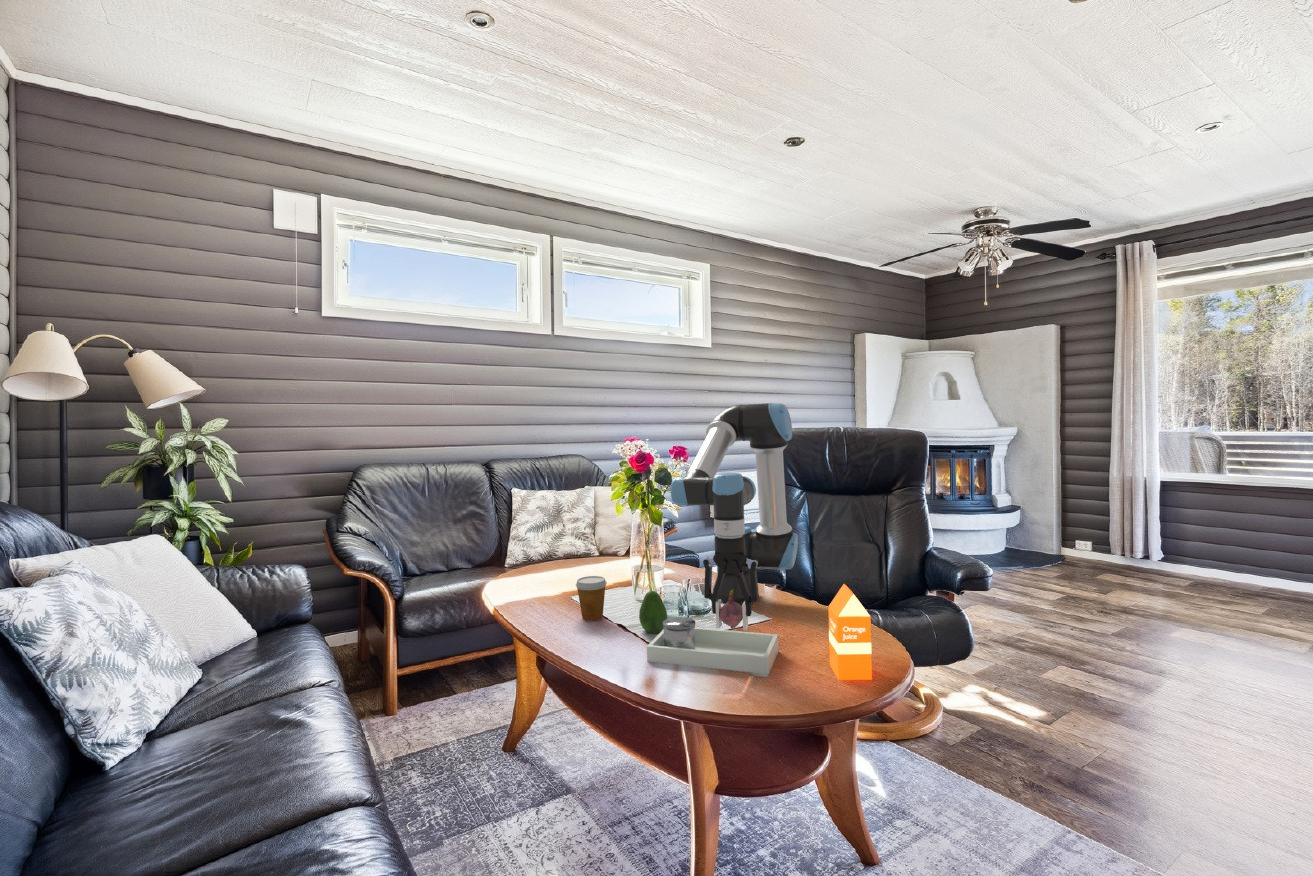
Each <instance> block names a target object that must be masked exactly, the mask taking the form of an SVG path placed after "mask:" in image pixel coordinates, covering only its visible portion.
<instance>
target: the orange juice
mask: <svg viewBox="0 0 1313 876" xmlns="http://www.w3.org/2000/svg"><path fill="white" fill-rule="evenodd" d="M871 618H872V617H871V615H870V614H869V613H868V611H867V609H865V607H864V606H863V605H862V603H861V602H860V600H859V599H858V597H856V595H855V594H854V593H853V591H852V590H851V589H850V588H849V587H848V586H847V585H846V584H845V583H843V585H842V586H841V587H840V588H839V590H838V592H837V593H836V594H835V596H834V598H833V599H832V601H831V602H830V604H829V605H828V641H829V645H828V647H829V666H830V667H831V669H832V671H833V672H834V675H835V677H836V678H837V680H838V681H862V680H863V681H868V680H869V681H872V680H873V676H872V675H873V671H872V669H873V667H872V664H873V663H872V630H871V629H872V623H871V622H872V621H871Z"/></svg>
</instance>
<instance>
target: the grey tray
mask: <svg viewBox="0 0 1313 876" xmlns="http://www.w3.org/2000/svg"><path fill="white" fill-rule="evenodd" d="M779 651H780V650H779V634H773V633H762V632H752V631H741V630H740V631H739V630H729V629H719V628H716V629H715V628H705V627H695V649H685V648H675V647H664V629H663V630H662V631H661V632H660V633H657V635H656V636H655V637H654V639H652V640H651V641H650V643H649V644H648V645H647V646H646V657H647V658H646V659H647V660H646V661H647V662H652V663H661V664H669V665H670V664H671V665H679V666H688V667H697V668H698V667H699V668H707V669H714V670H715V669H716V670H723V671H724V670H725V671H735V672H743V673H744V672H745V673H749V676H751V677H759V678H760V677H762V678H769V676H770V674H771V671H772V669H773V667H774V664H775V661H776V659H777V657H778V654H779Z"/></svg>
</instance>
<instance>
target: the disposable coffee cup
mask: <svg viewBox="0 0 1313 876" xmlns="http://www.w3.org/2000/svg"><path fill="white" fill-rule="evenodd" d="M606 586H607V581H606V578H605V577H603V576H600V575H587V576H582V577H579V578H577V579H576V583H575V587H576V588H577V595H578V600H579V607H580V612H581V618H582V621H585V622H586V621H587V622H596V621H600V620H602V619H603V617H604V607H605V605H604V604H605V595H606V594H605V593H606Z"/></svg>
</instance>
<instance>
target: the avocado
mask: <svg viewBox="0 0 1313 876" xmlns="http://www.w3.org/2000/svg"><path fill="white" fill-rule="evenodd" d="M638 619H639V622H640V626H641V627H642V629H643V630H644V631H646V632H647V633H651V634H659V633H660V632H661V631H662V630H663V629H664V627H663V621H664V620H666V619H668V611H667V609H666V606H665V603H664V602H663V600H662V597H661V596H660V594H659V593H658V592H657V591H655V590H651V591H650V590H649V591H648V592H646V594H645V595H644V597H643V599H642V602H641V605H640V607H639V616H638Z"/></svg>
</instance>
